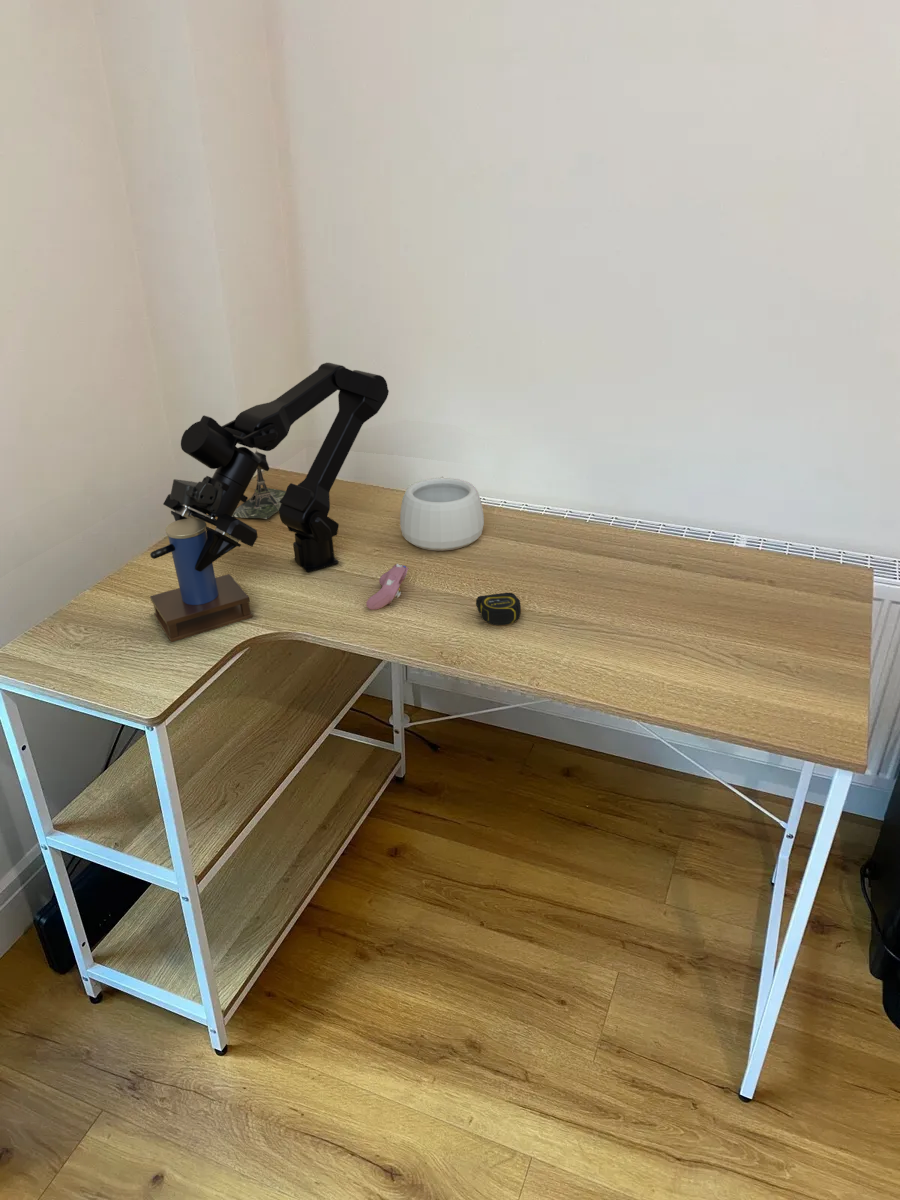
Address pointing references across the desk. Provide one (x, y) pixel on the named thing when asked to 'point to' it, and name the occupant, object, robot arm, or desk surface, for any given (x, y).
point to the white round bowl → (441, 514)
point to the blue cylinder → (190, 560)
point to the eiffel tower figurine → (260, 501)
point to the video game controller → (388, 587)
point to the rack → (201, 610)
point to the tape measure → (499, 608)
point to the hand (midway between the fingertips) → (185, 564)
